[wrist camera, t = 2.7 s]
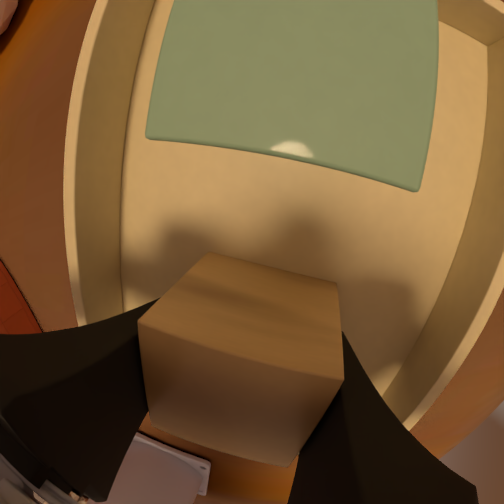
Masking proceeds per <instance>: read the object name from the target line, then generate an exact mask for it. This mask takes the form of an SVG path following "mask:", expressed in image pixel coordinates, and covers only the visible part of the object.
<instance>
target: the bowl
mask: <svg viewBox="0 0 504 504" xmlns="http://www.w3.org/2000/svg"><path fill="white" fill-rule="evenodd" d="M33 333H42V331H41V329H40V327H39V325H38V324H37V322H36V320H35V318H34V316H33V314H32V312H31V311H30V309H29V307H28V305H27V303H26V301H25V300H24V298H23V296H22V294H21V293H20V291H19V289H18V288H17V286H16V284H15V282H14V281H13V279H12V278H11V276H10V274H9V273H8V271H7V270H6V268H5V267H4V265H3V264H2V262H1V261H0V334H33Z"/></svg>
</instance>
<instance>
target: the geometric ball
mask: <svg viewBox="0 0 504 504" xmlns="http://www.w3.org/2000/svg"><path fill="white" fill-rule="evenodd" d="M17 6H18V0H0V35H1V34H2V33H3V32H4V31H5V30H6V29H7V28H8V26H9V23H10V21H11V19H12V16H13V14H14V12H15V10H16V8H17Z"/></svg>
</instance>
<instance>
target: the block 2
mask: <svg viewBox="0 0 504 504" xmlns="http://www.w3.org/2000/svg"><path fill="white" fill-rule="evenodd" d="M137 323H138V335H139V345H140V355H141V363H142V371H143V378H144V385H145V392H146V398H147V404H148V409H149V415H150V420H151V425H152V426H153V427H155V428H157V429H160V430H162V431H165V432H167V433H169V434H172V435H174V436H177V437H179V438H182V439H185V440H187V441H190V442H193V443H196V444H199V445H202V446H204V447H208V448H211V449H214V450H217V451H220V452H224V453H227V454H230V455H234V456H238V457H241V458H245V459H249V460H253V461H258V462H262V463H267V464H271V465H276V466H282V467H288V466H289V465H290V464H291V462H292V461H293V460H294V458H295V457H296V456H297V454H298V453H299V451H300V450H301V449H302V447H303V446H304V444H305V443H306V441H307V440H308V438H309V437H310V435H311V434H312V432H313V431H314V429H315V428H316V426H317V425H318V423H319V422H320V420H321V418H322V417H323V415H324V414H325V412H326V410H327V409H328V407H329V405H330V404H331V402H332V400H333V399H334V397H335V395H336V393H337V392H338V390H339V388H340V386H341V385H342V383H343V381H344V363H343V346H342V332H341V320H340V309H339V299H338V290H337V283H336V282H331V281H327V280H323V279H319V278H315V277H310V276H306V275H302V274H298V273H294V272H290V271H286V270H282V269H278V268H273V267H269V266H265V265H261V264H257V263H253V262H249V261H245V260H241V259H237V258H233V257H229V256H225V255H221V254H217V253H213V252H208V253H206V254H205V255H204V256H203V257H202V258H201V259H200V260H199V261H198V262H197V263H196V264H195V265H194V266H193V267H192V268H191V269H190V270H189V271H188V272H187V273H186V274H184V275H183V276H182V277H181V278H180V279H179V280H178V281H177V282H176V283H175V284H174V285H173V286H172V287H171V288H170V289H169V290H168V291H167V292H166V293H165V294H164V295H163V296H162V297H161V298H160V299H159V300H158V301H157V302H156V303H155V304H154V305H153V306H152V307H151V308H150V309H149V310H148V311H147V312H146V313H145V314H144V315H143V316H142V317H141V318H140V319H139V320H138V322H137Z"/></svg>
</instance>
